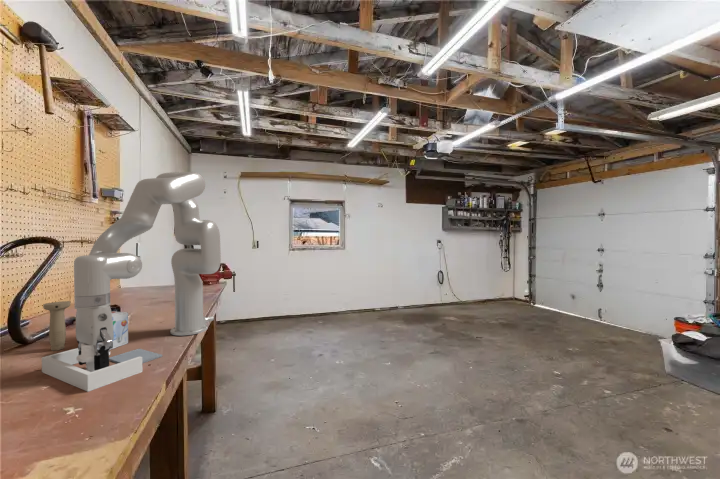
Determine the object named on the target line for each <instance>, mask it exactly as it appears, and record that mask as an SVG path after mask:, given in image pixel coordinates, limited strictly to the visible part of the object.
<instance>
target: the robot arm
mask: <svg viewBox="0 0 720 479" xmlns="http://www.w3.org/2000/svg"><path fill="white" fill-rule="evenodd" d="M205 188H206V182H205V179H204V177H203V176H202V175H201V174H200V173H198V172H196V171H180V172H179V171H175V172H173V171H172V172H163V173H160V174H158V175H157V176H156V178H155V177H154V178H153V177H151V178H143V179H141V180H139V181H138V182H137V183H136V185H135V187H134V188H133V191H132V193H131V195H130V197H129V200H128V201H127V204H126V206H125V208H124V211H123V213H122V215H121V217H120V218H119V219H118V220H116V221H114V223H112V224H111V225H110V226H109V227H108V228H107V229H105V231H103V232H102V233H101V234H100V235H99V236H98V237H97V239H96V240H95V241H94V244H93V245H92V248H91V249H90V252H89V254H87V255H79V256H77V257H75V259H74V261H73V278H74V279H73V280H74V281H73V287H74V289H73V290H74V297H73V299H74V300H73V301H74V310H76V313H75V315H76V316H75V339H76V343H77V344H78V346H77V348H78V350H79V355H81V344H82V343H86V344H89V345H93V346H94V350H95V353H96V355H95V356H94V370H99V369H102V368H105V367H109V366H110V361H109V357H110V355H109V352H110V353H111V351H110V347H111V344H112V341H113V339H114V331H113V319H112V309H111V280H127V279H131V278H135V277H136V276H137V275H138V274H140V273H141V271H142V268H143V262H142V260H141V258H140V257H138V256H137V255H135V254H133V253H129V252H118V251H119V249H121V247H122V246H123V245H124V244H126V243H127V242H129V240H132V239H133V238H135V237H138V236H141V235H142V234H145V233H146V232H148V231H150V230H151V229H152V228H153V227H154V223H155V221H156V218H157V216H158V214H159V212H160V208H161V207H162V205H171V207H172V210H173V226H174V238H175V241H176V242H177V243H178V244H180V245H184V246H200V248H181V249H179V250H177V251H175V252H174V253H173V254H172V257H171V261H170V263H171V269H172V273H173V278H174V327H172V328H171V329H170V332H169V333H170V335H173V336H177V337H179V336H182V337H184V336H193V335H198V334H201V333H204V332H205V331H207V330H208V327H209V326H208V324H207V323H208V322H209V323H210V322H212V321H214V320H215V318H214V315H211V316H204V288H203V287H204V285H203V280H202V278H201V276H200V275H212V274H215V273H217V272H218V271H219V269H220V266H221V260H222V258H221V257H222V256H221V255H222V253H221V234H220V232H221V231H220V229H219V226H218V225H217V224H216V222H214V221H213V220H209V219H200V211H199V210H200V209H199V205H198V202H197V201H196V199H195V198H196V197H199V196H200V195H202V194H203V193H204V192H205ZM101 340H103V342H99V343H97V341H101ZM100 345H103V346H101V348H100V349H99V346H100ZM78 365H79V366H83V365H86V362H84V363H82V362H80V361H79V363H78Z"/></svg>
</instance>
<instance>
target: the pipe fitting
mask: <svg viewBox="0 0 720 479" xmlns="http://www.w3.org/2000/svg"><path fill="white" fill-rule="evenodd" d="M99 342H103V340H101V341H97V343H99ZM101 346H103V345H100V346H99V349H100V348H101ZM95 355H96V353H95V350H94V346H93V345H89V344H86V343H82V344H81V355H79V356H77V357H76V360H77V361H80V362H82V363H84V362H86V364H85V367H86V368H85V370H87V371H89V372H93V371H96V370H94V356H95ZM109 356H111V351H110V352H109Z"/></svg>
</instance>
